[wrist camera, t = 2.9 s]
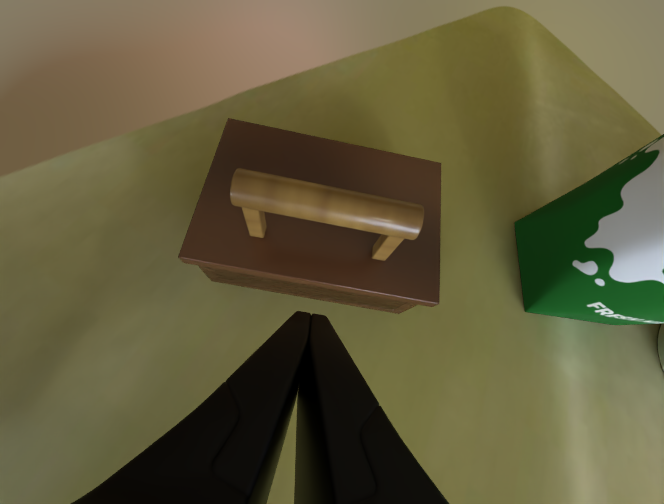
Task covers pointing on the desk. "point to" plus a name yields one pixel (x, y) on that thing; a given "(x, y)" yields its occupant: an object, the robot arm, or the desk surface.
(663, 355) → the reusable coffee cup
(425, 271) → the tea lid
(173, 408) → the desk surface
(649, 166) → the milk carton
